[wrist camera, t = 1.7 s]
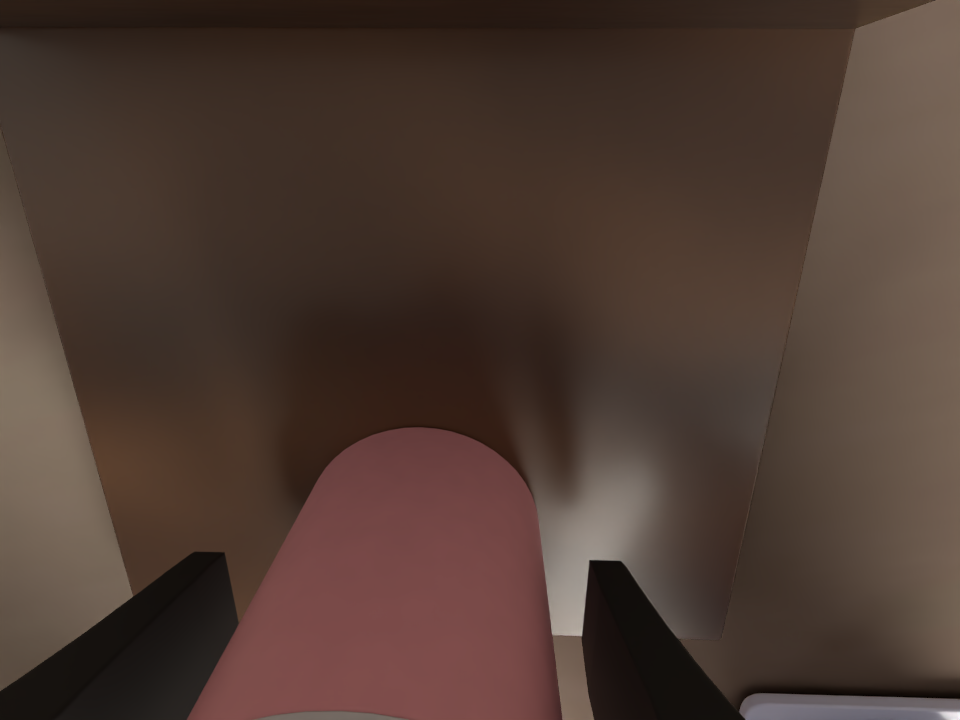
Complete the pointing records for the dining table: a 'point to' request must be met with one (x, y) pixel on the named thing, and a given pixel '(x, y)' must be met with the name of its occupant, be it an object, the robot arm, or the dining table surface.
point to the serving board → (429, 256)
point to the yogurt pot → (399, 596)
